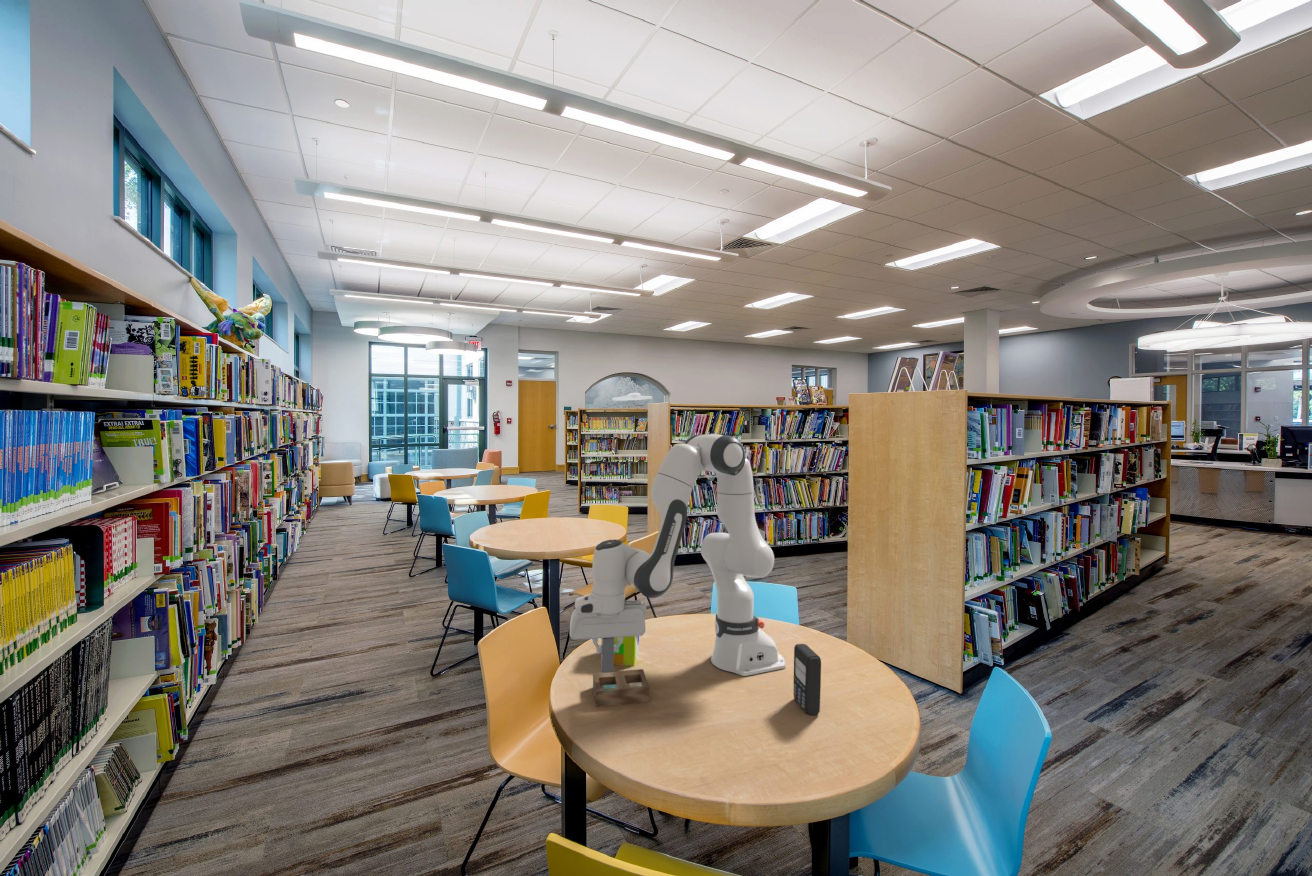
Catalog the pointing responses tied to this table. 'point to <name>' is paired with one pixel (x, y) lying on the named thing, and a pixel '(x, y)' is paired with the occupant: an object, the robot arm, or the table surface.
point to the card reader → (807, 678)
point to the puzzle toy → (627, 651)
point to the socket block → (620, 687)
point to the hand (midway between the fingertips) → (607, 652)
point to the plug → (607, 655)
